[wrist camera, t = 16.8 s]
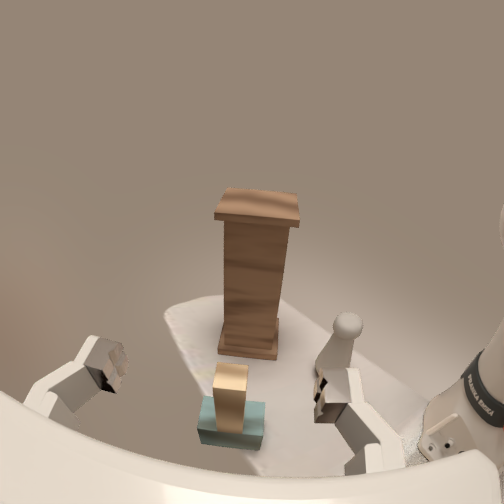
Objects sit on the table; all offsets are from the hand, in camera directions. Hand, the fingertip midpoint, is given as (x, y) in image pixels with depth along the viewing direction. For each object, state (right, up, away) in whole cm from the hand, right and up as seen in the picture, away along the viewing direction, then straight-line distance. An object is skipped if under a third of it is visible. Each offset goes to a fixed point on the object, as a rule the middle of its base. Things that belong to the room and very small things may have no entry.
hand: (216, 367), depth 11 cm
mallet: (-1, -15, +18) cm, 23 cm away
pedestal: (+1, -11, +40) cm, 42 cm away
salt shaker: (+14, -16, +34) cm, 40 cm away
